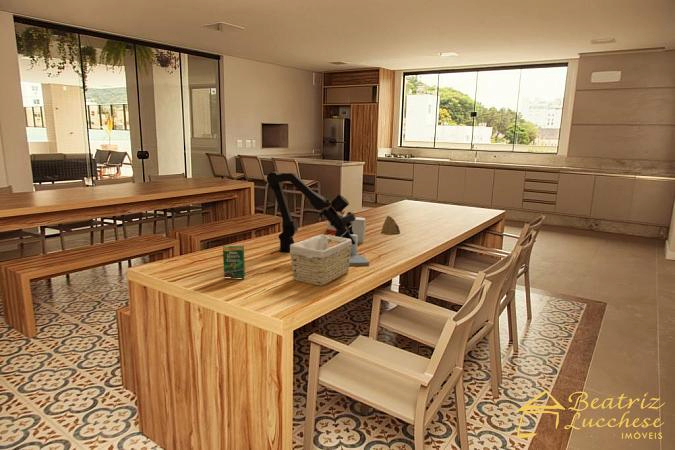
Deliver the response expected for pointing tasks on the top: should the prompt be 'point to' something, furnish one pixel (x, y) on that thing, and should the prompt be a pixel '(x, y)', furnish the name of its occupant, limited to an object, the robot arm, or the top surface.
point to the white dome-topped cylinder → (354, 247)
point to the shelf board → (358, 260)
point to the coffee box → (234, 261)
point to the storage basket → (320, 259)
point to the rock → (390, 226)
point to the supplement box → (359, 228)
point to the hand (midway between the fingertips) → (355, 242)
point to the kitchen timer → (331, 228)
